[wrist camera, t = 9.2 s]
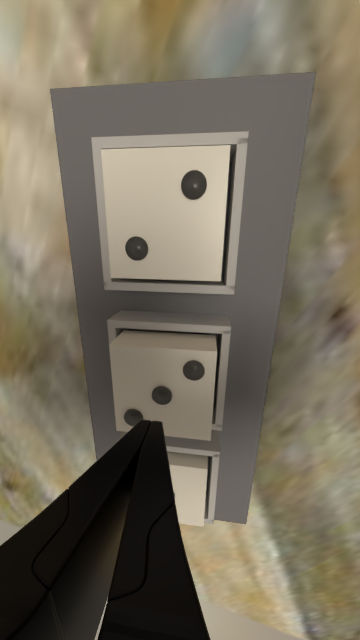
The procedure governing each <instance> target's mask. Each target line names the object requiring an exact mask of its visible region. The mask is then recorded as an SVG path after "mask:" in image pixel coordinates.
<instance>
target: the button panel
mask: <svg viewBox="0 0 360 640" xmlns="http://www.w3.org/2000/svg"><path fill="white" fill-rule="evenodd" d="M315 75H316V72H308V73H292V74H277V75H261V76H245V77H230V78H214V79H198V80H183V81H167V82H151V83H136V84H120V85H104V86H89V87H73V88H57V89H50V93H51V101H52V109H53V117H54V125H55V133H56V140H57V148H58V156H59V164H60V172H61V180H62V188H63V196H64V204H65V212H66V220H67V228H68V236H69V244H70V252H71V260H72V268H73V276H74V284H75V292H76V300H77V308H78V315H79V323H80V331H81V339H82V347H83V355H84V363H85V371H86V379H87V387H88V395H89V403H90V411H91V419H92V427H93V435H94V443H95V451H96V459H97V460H99V459H100V458H101V457H102V456H103V455H104V454H105V453H106V452H107V451H108V450H109V449H110V448H111V447H112V446H114V445H115V444H116V443H117V442H118V441H119V440H120V439H121V438H122V437H123V436H124V435H125V434H126V433H127V432H124V431H116V420H115V408H114V397H113V385H112V373H111V362H110V350H109V344H110V343H111V342H112V341H113V340H114V339H115V338H116V337H117V336H119V335H120V334H121V333H122V332H123V331H124V330H131V331H148V332H166V333H183V334H201V335H216V345H217V360H216V374H215V388H214V401H213V415H212V429H211V441H208V440H199V439H189V438H180V437H171V436H165V441H166V447H167V451H169V452H178V453H187V454H196V455H204V456H208V470H207V484H206V499H205V513H204V523H208V524H213V523H214V520H221V521H227V522H234V523H241V524H246V522H247V515H248V509H249V502H250V496H251V489H252V483H253V476H254V470H255V463H256V457H257V451H258V444H259V438H260V431H261V425H262V418H263V412H264V405H265V399H266V392H267V386H268V379H269V373H270V366H271V360H272V353H273V347H274V340H275V334H276V327H277V321H278V314H279V308H280V302H281V295H282V289H283V282H284V276H285V269H286V263H287V256H288V250H289V243H290V237H291V230H292V224H293V217H294V211H295V204H296V198H297V191H298V185H299V178H300V172H301V166H302V159H303V153H304V146H305V140H306V133H307V127H308V120H309V114H310V107H311V101H312V94H313V88H314V81H315ZM218 145H230V160H229V174H228V188H227V202H226V216H225V231H224V245H223V259H222V273H221V281H192V280H161V279H129V278H111V274H110V261H109V248H108V235H107V222H106V209H105V196H104V182H103V169H102V156H101V149H125V148H156V147H187V146H218Z"/></svg>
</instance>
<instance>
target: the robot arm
mask: <svg viewBox="0 0 360 640" xmlns="http://www.w3.org/2000/svg"><path fill="white" fill-rule="evenodd" d="M107 598H108V601H107ZM106 601H107V602H108V603H107V605H106V609H105V614H104V617H103V622H102V626H101V629H100V633H99V636H98V640H210V637H209V634H208V630H207V627H206V624H205V620H204V617H203V613H202V610H201V606H200V603H199V599H198V595H197V592H196V588H195V585H194V581H193V578H192V574H191V571H190V567H189V564H188V560H187V556H186V552H185V549H184V545H183V541H182V537H181V531H180V526H179V521H178V516H177V509H176V505H175V497H174V491H173V485H172V479H171V472H170V466H169V460H168V454H167V447H166V441H165V435H164V429H163V423H162V422H161V421H151V420H140V421H139V422H138V423H137V424H136V425H135V426H134V427H133V428H132V429H131V430H130V431H129V432H127V433H126V434H125V435H124V436H123V437H122V438H121V439H120V440H119V441H118V442H117V443H116V444H115V445H114V446H112V447H111V448H110V449H109V450H108V451H107V452H106V453H105V454H104V455H103V456H102V457H101V458H100V459H99V460H97V461H96V462H95V463H94V464H93V465H92V466H91V467H90V468H89V469H88V470H87V471H86V472H85V473H84V474H82V475H81V476H80V477H79V478H78V479H77V480H76V481H75V482H74V483H73V484H72V485H71V486H70V487H69V489H66V490H65V491H64V492H63V493H62V494H61V495H60V496H59V497H58V498H57V499H55V500H54V501H53V502H52V503H51V504H50V505H49V506H48V507H47V508H45V509H44V510H43V511H42V512H41V513H40V514H39V515H37V516H36V517H35V518H34V519H33V520H31V521H30V522H29V523H28V524H27V525H25V526H24V527H23V528H22V529H21V530H19V531H18V532H17V533H16V534H14V535H13V536H12V537H11V538H9V539H8V540H7V541H6V542H5V543H3V544H2V545H1V546H0V640H94V639H95V636H96V632H97V629H98V626H99V623H100V620H101V616H102V614H103V611H104V607H105V604H106Z"/></svg>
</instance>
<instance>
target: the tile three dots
mask: <svg viewBox="0 0 360 640" xmlns="http://www.w3.org/2000/svg"><path fill="white" fill-rule="evenodd" d="M109 350H110V362H111V373H112V385H113V397H114V408H115V420H116V431H124V432H129V431H130V430H131V429H132V428H133V427H134V426H135V425H136V424H137V423H138V422H139V421H140V420H151V421H161V422H162V423H163V429H164V435H165V436H171V437H180V438H189V439H199V440H208V441H211V429H212V415H213V401H214V388H215V374H216V360H217V345H216V335H201V334H183V333H166V332H148V331H131V330H124V331H123V332H122V333H121V334H120V335H119V336H117V337H116V338H115V339H114V340H113V341H112V342H111V343H110V344H109Z"/></svg>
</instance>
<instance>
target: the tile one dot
mask: <svg viewBox="0 0 360 640" xmlns="http://www.w3.org/2000/svg"><path fill="white" fill-rule="evenodd" d="M167 454H168V460H169V466H170V472H171V479H172V485H173V491H174V497H175V505H176V509H177V516H178V521H179V523H182V524H188V525H195V526H202V527H204V513H205V499H206V484H207V470H208V456H204V455H196V454H187V453H178V452H169V451H167Z"/></svg>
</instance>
